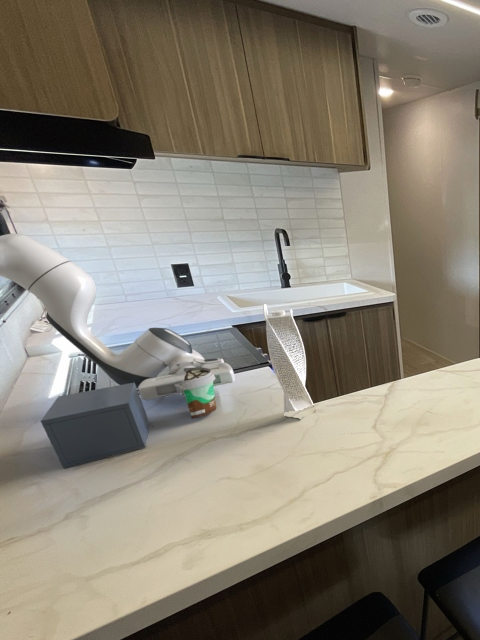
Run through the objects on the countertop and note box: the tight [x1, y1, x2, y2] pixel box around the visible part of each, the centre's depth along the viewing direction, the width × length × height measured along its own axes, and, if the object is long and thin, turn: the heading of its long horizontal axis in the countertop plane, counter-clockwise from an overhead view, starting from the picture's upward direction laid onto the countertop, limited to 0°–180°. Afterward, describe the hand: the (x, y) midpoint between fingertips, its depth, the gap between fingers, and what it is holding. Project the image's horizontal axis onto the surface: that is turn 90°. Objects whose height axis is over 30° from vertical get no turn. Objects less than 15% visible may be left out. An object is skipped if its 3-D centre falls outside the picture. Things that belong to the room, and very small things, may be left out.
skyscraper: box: [262, 303, 315, 414], centre depth 97 cm, size 8×8×28 cm
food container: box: [181, 367, 217, 420], centre depth 101 cm, size 12×6×10 cm, turn 33°
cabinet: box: [40, 383, 150, 469], centre depth 88 cm, size 15×13×11 cm
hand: (189, 390), depth 101 cm, fingers closed on food container
